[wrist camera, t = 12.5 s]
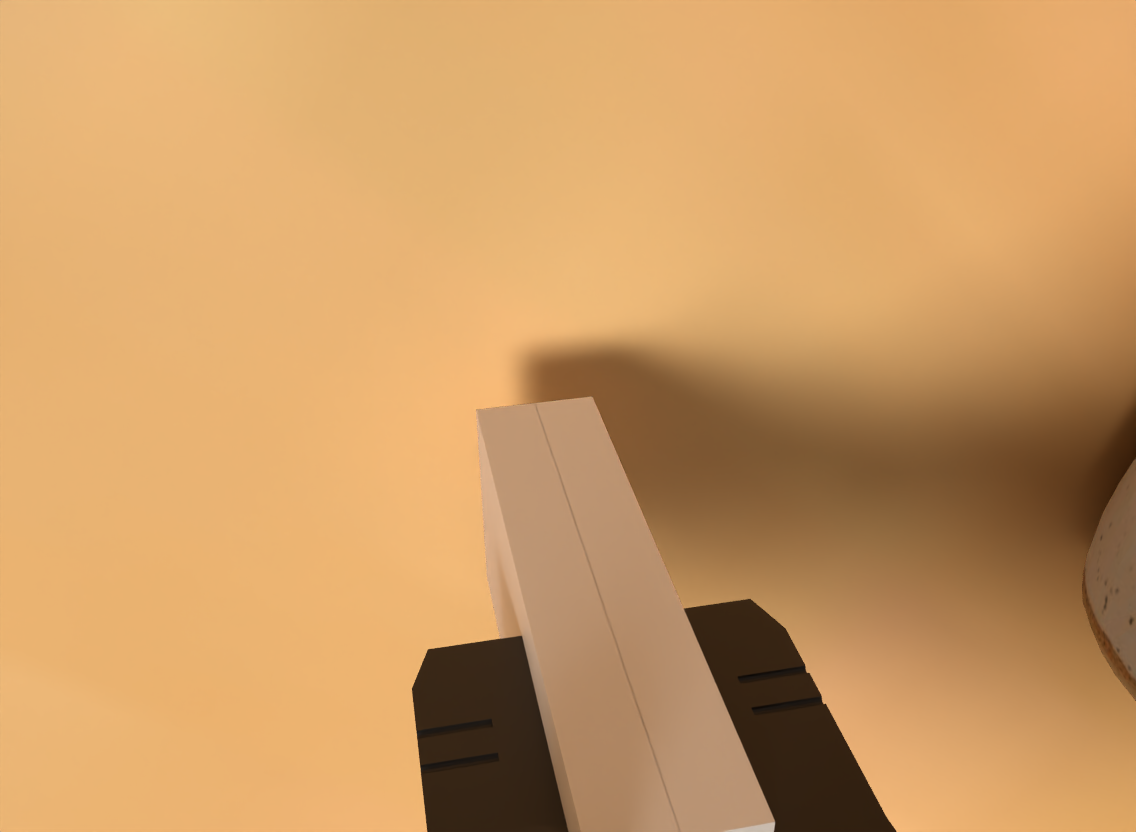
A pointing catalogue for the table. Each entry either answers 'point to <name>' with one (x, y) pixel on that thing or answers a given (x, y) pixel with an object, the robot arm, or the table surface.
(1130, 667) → the ceramic mug
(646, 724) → the robot arm
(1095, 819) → the table surface
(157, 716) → the table surface
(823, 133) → the table surface
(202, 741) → the table surface
